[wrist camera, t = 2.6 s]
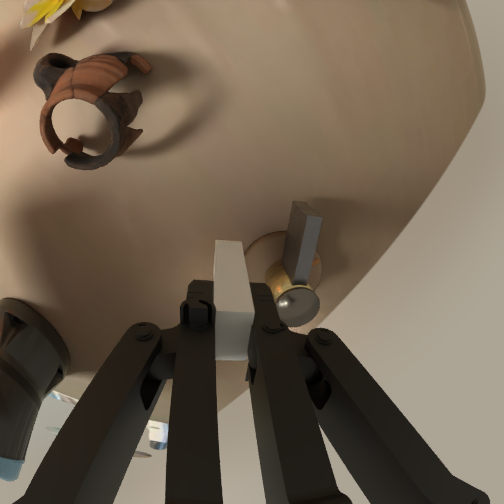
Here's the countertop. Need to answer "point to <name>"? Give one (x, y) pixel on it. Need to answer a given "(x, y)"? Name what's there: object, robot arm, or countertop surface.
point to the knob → (296, 268)
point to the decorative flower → (54, 13)
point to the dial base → (274, 258)
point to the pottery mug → (90, 101)
